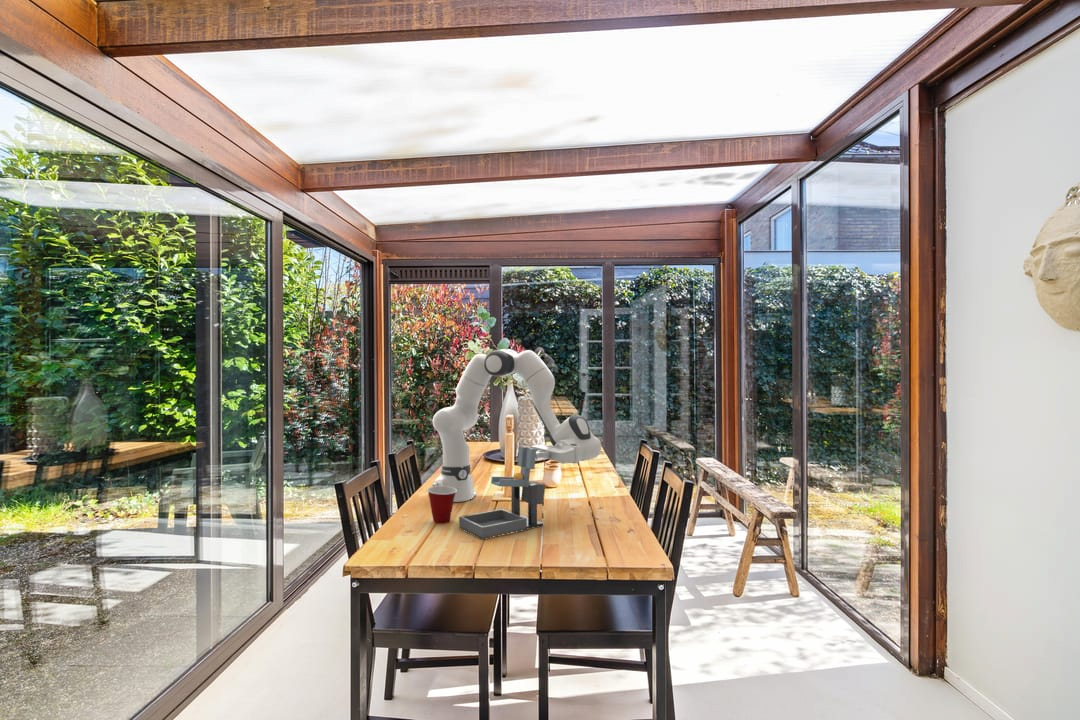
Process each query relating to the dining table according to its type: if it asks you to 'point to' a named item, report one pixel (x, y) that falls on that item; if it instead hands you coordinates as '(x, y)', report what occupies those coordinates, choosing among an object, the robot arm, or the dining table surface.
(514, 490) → the lever stand
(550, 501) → the dining table surface
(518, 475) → the ball
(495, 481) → the lever
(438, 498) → the plastic cup
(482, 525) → the tray
